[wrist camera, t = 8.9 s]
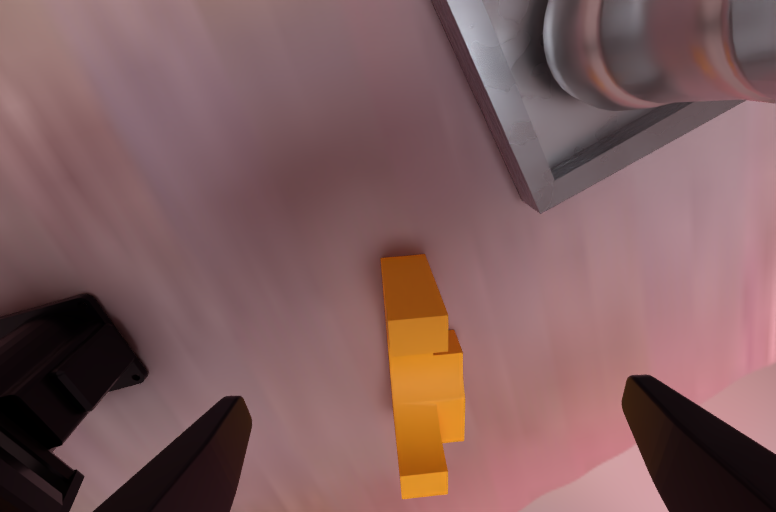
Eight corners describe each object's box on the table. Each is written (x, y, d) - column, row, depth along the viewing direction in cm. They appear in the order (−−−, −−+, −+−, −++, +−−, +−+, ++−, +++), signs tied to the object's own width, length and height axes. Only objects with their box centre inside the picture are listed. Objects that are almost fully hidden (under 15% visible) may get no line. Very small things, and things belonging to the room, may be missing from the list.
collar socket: (522, 200, 20) (540, 213, 18) (416, -31, 16) (425, -49, 14) (742, 76, 18) (791, 75, 16) (696, -232, 14) (756, -287, 12)
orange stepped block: (452, 402, 27) (478, 490, 21) (392, 407, 27) (402, 499, 21) (454, 250, 22) (488, 311, 16) (380, 256, 22) (387, 320, 16)
